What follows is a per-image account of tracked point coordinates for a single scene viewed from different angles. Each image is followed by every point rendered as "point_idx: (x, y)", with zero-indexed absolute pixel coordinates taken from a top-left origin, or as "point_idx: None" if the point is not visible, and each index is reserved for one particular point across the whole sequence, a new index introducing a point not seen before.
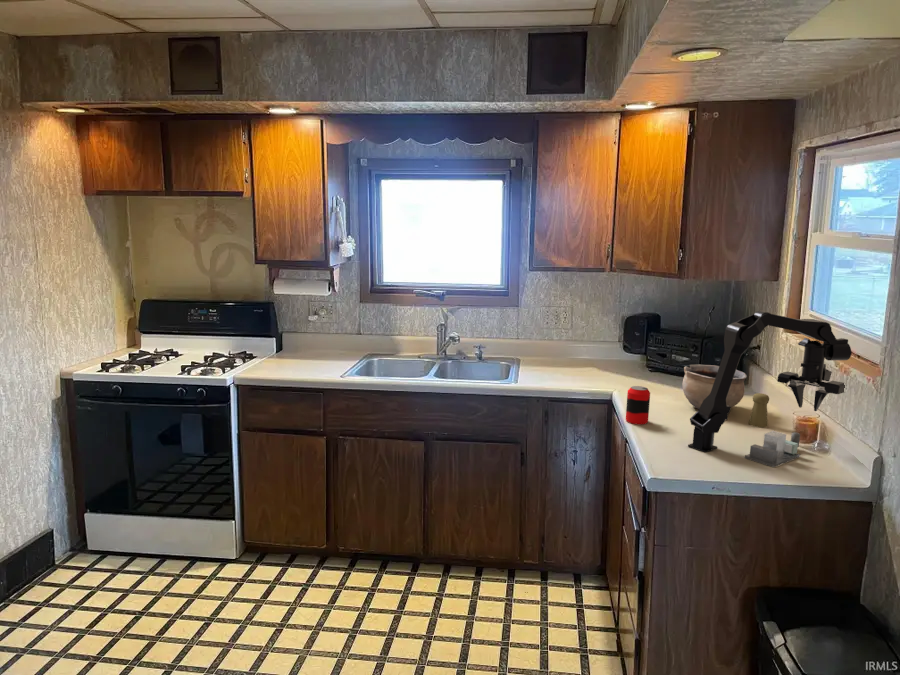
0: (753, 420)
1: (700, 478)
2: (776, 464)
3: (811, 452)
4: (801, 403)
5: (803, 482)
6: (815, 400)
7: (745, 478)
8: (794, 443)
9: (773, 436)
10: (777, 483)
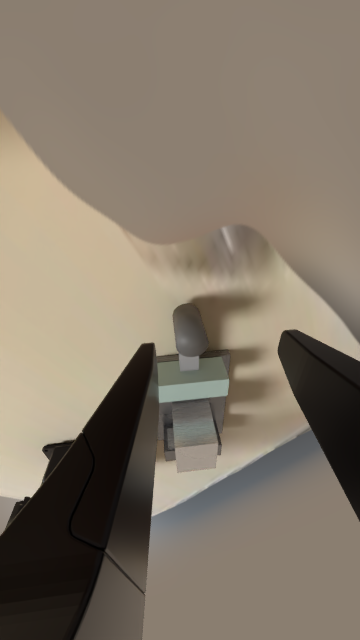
0: None
1: (178, 499)
2: (222, 426)
3: (234, 287)
4: (156, 383)
5: (284, 434)
6: (352, 485)
7: (214, 472)
8: (222, 387)
9: (203, 468)
10: (255, 457)
